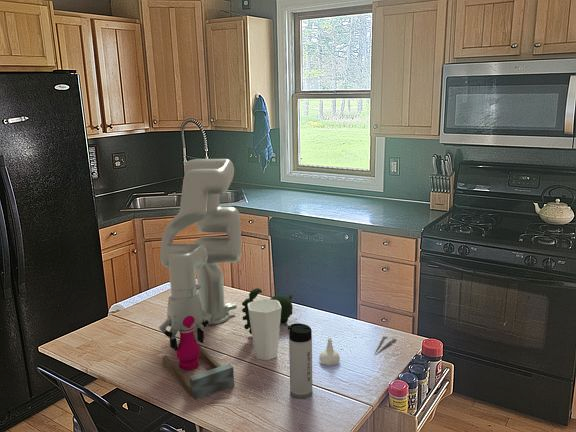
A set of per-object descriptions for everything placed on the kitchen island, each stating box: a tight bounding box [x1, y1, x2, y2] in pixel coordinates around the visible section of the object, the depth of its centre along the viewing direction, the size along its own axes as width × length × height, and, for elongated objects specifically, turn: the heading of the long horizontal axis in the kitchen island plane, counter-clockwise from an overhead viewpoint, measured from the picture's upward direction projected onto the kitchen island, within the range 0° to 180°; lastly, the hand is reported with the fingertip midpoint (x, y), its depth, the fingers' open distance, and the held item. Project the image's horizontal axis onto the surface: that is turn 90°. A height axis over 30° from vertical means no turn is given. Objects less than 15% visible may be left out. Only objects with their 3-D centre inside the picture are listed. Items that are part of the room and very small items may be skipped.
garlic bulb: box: [318, 337, 341, 367], centre depth 158 cm, size 6×6×8 cm
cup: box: [247, 298, 282, 361], centre depth 162 cm, size 11×10×17 cm
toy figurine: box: [241, 287, 293, 335], centre depth 180 cm, size 9×19×25 cm
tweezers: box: [373, 335, 397, 357], centre depth 166 cm, size 17×5×2 cm, turn 148°
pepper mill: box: [175, 316, 200, 371], centre depth 156 cm, size 7×7×20 cm
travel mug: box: [286, 322, 313, 399], centre depth 140 cm, size 6×7×20 cm
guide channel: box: [162, 344, 235, 401], centre depth 153 cm, size 12×24×6 cm, turn 33°
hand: (187, 345), depth 157 cm, fingers open, 7 cm apart
